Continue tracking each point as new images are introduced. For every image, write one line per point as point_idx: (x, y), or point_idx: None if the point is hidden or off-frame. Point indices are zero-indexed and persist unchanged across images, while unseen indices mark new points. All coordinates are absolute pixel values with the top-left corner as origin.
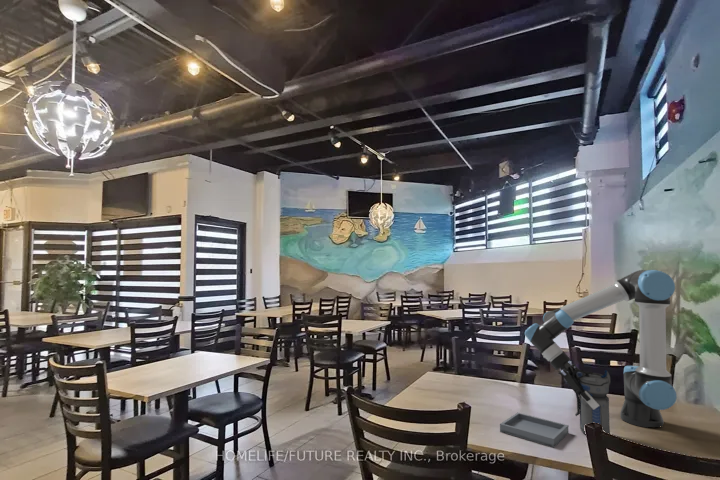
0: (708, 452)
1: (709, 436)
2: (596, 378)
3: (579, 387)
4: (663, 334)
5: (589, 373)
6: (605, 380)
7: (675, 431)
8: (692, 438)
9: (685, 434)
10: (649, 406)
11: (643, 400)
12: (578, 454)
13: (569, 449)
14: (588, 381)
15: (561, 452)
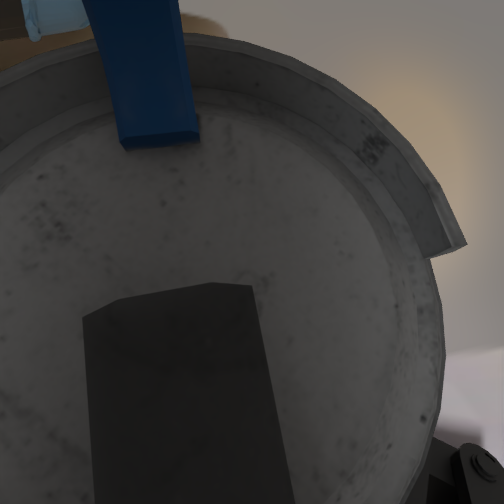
0: (185, 21)
1: None
2: (309, 234)
3: (486, 497)
4: None
5: (275, 405)
6: (333, 100)
7: (18, 61)
8: (73, 31)
9: (38, 41)
10: (88, 25)
11: (78, 14)
12: (470, 370)
13: (449, 406)
14: (437, 384)
15: (499, 432)
